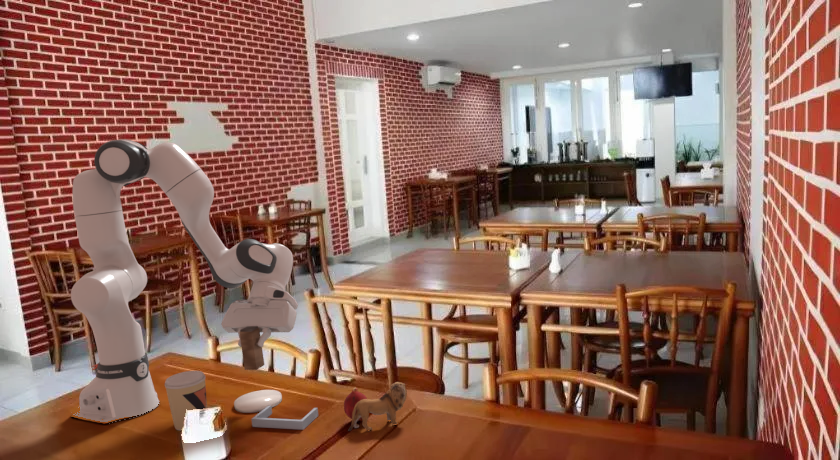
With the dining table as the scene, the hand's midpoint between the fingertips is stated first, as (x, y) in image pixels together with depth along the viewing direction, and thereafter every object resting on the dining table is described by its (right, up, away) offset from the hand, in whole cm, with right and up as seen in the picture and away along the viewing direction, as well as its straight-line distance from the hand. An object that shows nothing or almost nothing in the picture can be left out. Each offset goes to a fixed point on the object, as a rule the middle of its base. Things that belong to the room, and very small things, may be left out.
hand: (250, 346), depth 162 cm
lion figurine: (+35, -15, -17) cm, 42 cm away
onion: (+29, -15, -14) cm, 36 cm away
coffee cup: (-12, -18, -7) cm, 23 cm away
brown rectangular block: (+1, -6, +1) cm, 6 cm away
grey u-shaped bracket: (+12, -16, -10) cm, 22 cm away
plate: (+2, -15, +3) cm, 16 cm away
